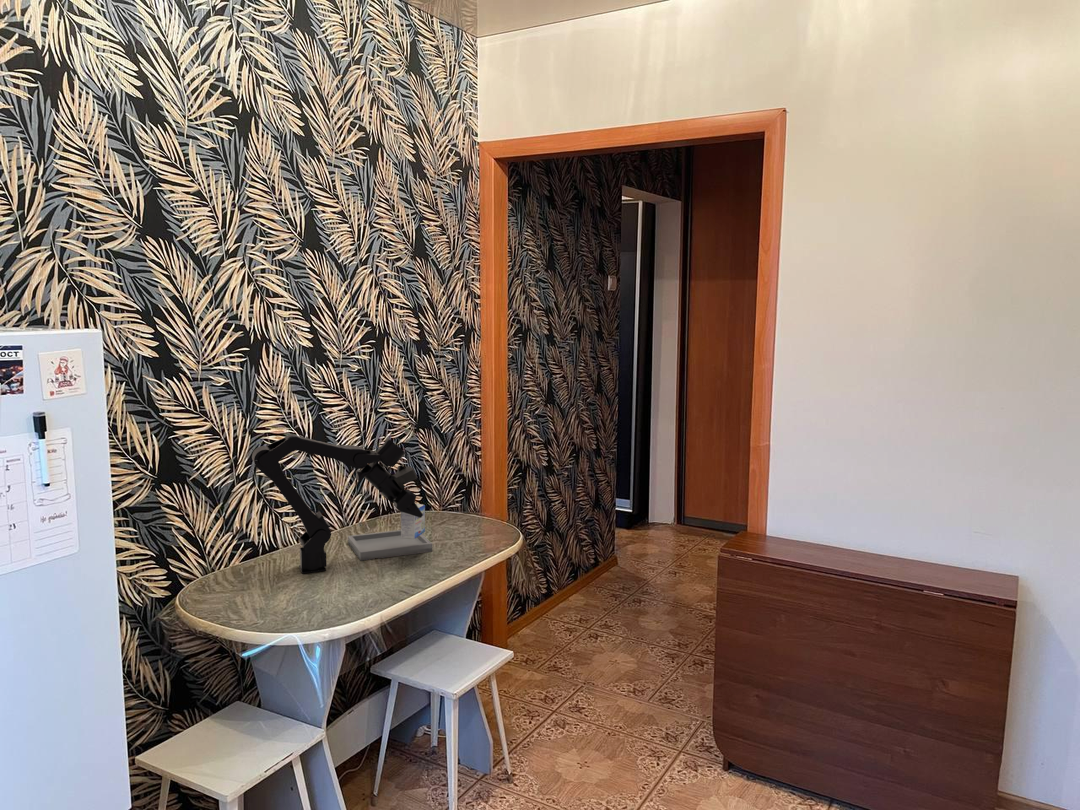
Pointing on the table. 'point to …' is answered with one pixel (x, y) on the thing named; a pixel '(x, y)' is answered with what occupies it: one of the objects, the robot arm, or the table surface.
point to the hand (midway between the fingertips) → (417, 512)
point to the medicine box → (412, 524)
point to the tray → (387, 545)
